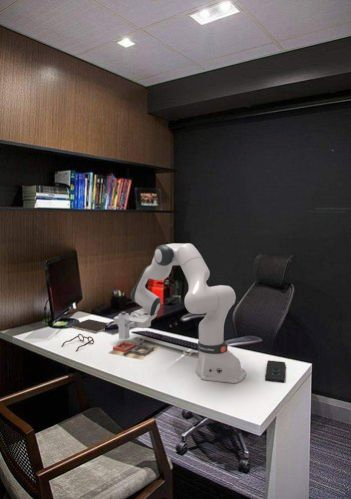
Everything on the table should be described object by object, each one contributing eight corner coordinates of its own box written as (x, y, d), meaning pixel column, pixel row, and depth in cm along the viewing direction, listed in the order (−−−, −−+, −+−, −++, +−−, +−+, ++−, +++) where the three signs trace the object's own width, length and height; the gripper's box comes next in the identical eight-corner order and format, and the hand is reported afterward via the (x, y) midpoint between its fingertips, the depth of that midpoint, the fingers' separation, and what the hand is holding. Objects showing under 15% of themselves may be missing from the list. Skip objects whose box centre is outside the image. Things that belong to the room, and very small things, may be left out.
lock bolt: (129, 337, 194) (128, 311, 192) (125, 339, 190) (124, 313, 189) (123, 336, 196) (122, 310, 194) (118, 338, 192) (118, 312, 191)
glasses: (94, 345, 204) (94, 336, 204) (75, 352, 194) (75, 343, 194) (79, 340, 212) (79, 332, 212) (60, 347, 202) (60, 339, 201)
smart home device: (264, 377, 156) (267, 359, 175) (264, 381, 156) (267, 363, 175) (284, 380, 153) (285, 361, 172) (284, 384, 154) (285, 365, 173)
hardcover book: (95, 334, 224) (95, 330, 223) (71, 328, 237) (70, 325, 236) (114, 327, 237) (114, 324, 236) (89, 322, 250) (89, 318, 249)
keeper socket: (136, 346, 195) (136, 344, 195) (126, 352, 187) (126, 349, 187) (122, 344, 199) (122, 341, 199) (112, 349, 191) (112, 347, 191)
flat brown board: (160, 350, 194) (160, 344, 193) (141, 362, 178) (141, 356, 177) (127, 344, 203) (127, 339, 203) (107, 355, 187) (107, 350, 187)
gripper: (122, 310, 208) (106, 317, 196) (152, 315, 198) (138, 322, 186) (122, 321, 209) (107, 328, 196) (153, 326, 199) (139, 334, 187)
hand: (122, 325), depth 191 cm, fingers closed on lock bolt, 4 cm apart
